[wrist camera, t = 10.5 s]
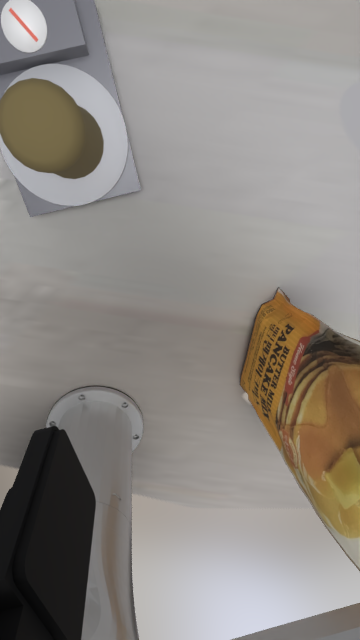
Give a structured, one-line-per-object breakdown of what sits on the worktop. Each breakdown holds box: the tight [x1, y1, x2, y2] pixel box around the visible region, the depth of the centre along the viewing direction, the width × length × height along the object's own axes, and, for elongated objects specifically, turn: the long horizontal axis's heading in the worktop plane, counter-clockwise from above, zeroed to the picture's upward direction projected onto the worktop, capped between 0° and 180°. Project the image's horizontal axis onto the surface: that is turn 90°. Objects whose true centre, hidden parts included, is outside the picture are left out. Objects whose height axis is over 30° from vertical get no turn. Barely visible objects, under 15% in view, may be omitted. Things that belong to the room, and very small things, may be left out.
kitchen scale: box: [0, 0, 141, 217], centre depth 30 cm, size 15×11×5 cm
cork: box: [0, 78, 104, 179], centre depth 25 cm, size 6×6×11 cm
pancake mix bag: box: [240, 288, 360, 571], centre depth 32 cm, size 7×19×28 cm, turn 171°
